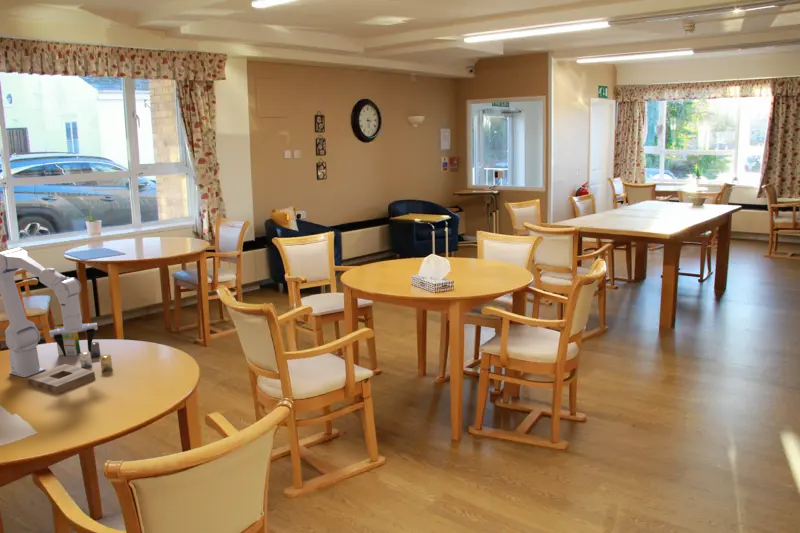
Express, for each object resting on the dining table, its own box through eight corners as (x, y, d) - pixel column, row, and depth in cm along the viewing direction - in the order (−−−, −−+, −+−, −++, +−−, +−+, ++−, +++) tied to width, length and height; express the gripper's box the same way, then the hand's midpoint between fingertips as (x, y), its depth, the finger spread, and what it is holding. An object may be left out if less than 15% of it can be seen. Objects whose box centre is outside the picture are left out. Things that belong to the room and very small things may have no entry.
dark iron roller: (88, 357, 258) (86, 344, 257) (96, 354, 261) (94, 341, 260) (94, 358, 256) (92, 345, 255) (102, 355, 259) (100, 342, 258)
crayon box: (81, 352, 262) (76, 323, 260) (77, 355, 260) (72, 326, 257) (62, 352, 263) (58, 323, 260) (58, 355, 260) (53, 326, 258)
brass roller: (99, 370, 244) (97, 357, 243) (108, 367, 247) (106, 354, 246) (106, 372, 242) (104, 358, 241) (114, 369, 245) (112, 355, 244)
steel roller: (79, 367, 248) (77, 353, 247) (87, 363, 251) (86, 350, 250) (85, 368, 246) (83, 355, 245) (94, 365, 249) (92, 352, 248)
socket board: (28, 384, 234) (27, 378, 233) (66, 370, 245) (65, 363, 245) (57, 393, 226) (56, 386, 225) (95, 378, 237) (94, 371, 237)
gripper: (47, 321, 225) (54, 361, 228) (96, 313, 232) (101, 352, 235) (46, 316, 231) (53, 354, 234) (94, 308, 238) (99, 346, 241)
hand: (77, 353), depth 235 cm, fingers open, 7 cm apart
